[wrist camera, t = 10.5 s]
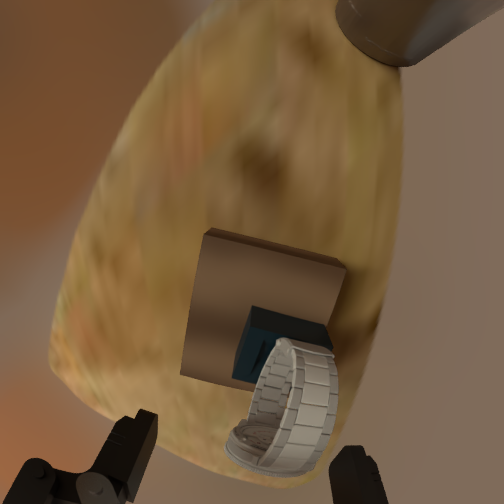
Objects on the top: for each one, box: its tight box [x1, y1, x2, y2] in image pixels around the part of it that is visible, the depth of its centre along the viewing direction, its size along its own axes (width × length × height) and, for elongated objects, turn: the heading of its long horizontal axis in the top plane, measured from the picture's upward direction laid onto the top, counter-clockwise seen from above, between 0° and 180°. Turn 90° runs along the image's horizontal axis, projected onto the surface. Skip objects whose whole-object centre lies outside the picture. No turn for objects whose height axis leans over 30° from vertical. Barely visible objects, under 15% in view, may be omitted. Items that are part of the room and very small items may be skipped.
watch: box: [224, 305, 339, 478], centre depth 15 cm, size 6×8×11 cm
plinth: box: [180, 228, 347, 398], centre depth 21 cm, size 12×10×3 cm
